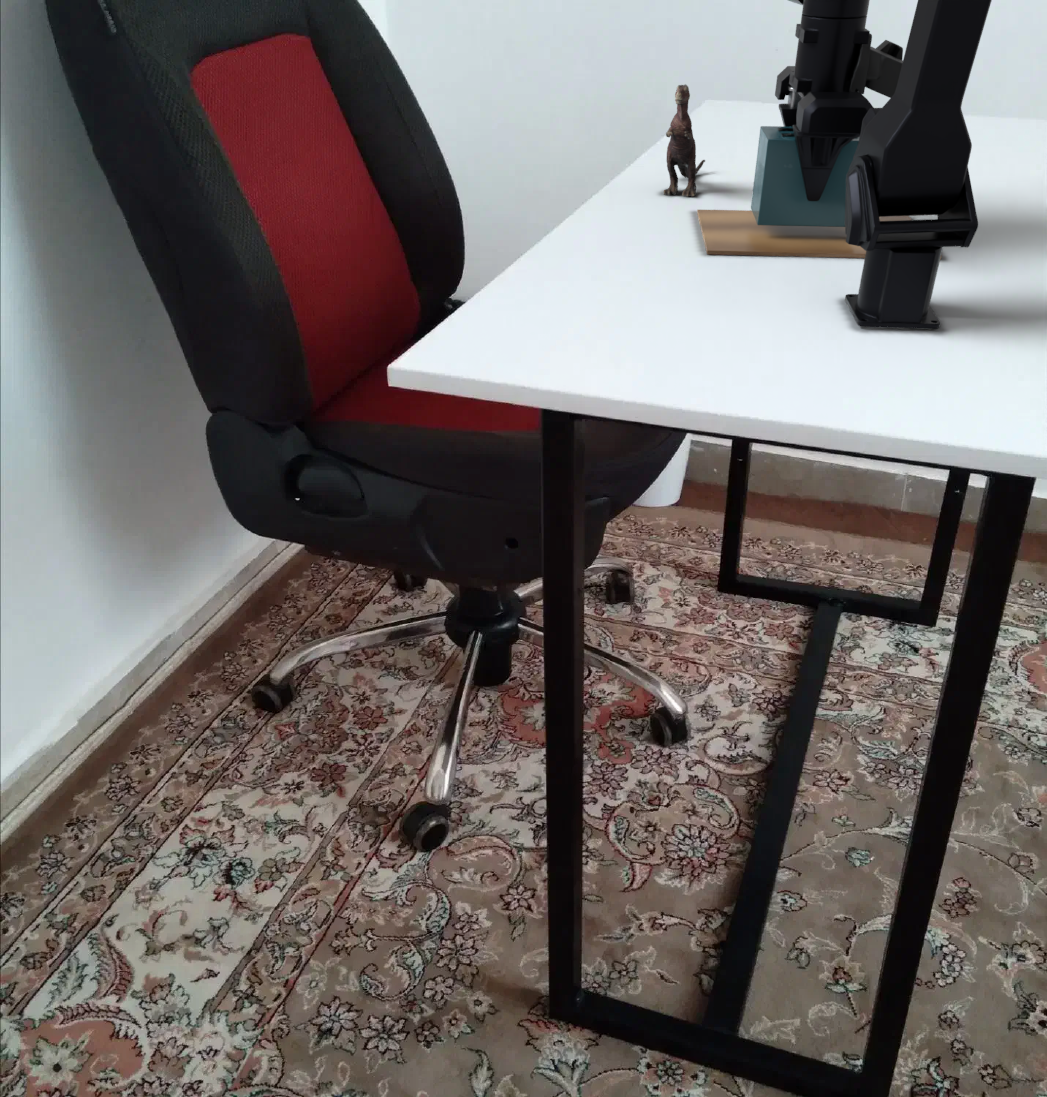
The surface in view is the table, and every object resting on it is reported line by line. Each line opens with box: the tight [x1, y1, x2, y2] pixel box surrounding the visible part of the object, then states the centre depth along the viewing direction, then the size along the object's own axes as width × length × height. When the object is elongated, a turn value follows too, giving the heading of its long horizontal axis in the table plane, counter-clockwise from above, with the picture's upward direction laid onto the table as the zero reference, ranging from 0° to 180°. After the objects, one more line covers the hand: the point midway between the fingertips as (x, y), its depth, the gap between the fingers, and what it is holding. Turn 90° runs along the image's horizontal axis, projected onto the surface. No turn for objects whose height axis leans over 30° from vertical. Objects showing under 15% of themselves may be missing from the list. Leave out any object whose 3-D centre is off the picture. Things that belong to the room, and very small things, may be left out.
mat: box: [696, 209, 943, 261], centre depth 104 cm, size 14×22×1 cm, turn 86°
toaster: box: [750, 125, 860, 227], centre depth 101 cm, size 11×6×8 cm, turn 86°
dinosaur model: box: [663, 83, 706, 197], centre depth 117 cm, size 4×12×15 cm
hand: (808, 192), depth 102 cm, fingers closed on toaster, 6 cm apart
